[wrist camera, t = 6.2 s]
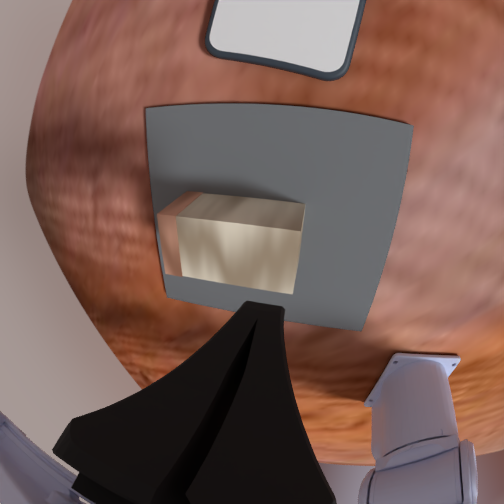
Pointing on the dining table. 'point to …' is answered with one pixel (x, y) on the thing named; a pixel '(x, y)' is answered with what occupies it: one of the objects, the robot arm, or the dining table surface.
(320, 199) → the rubber mat
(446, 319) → the dining table surface
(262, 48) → the phone case
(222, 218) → the maple block
